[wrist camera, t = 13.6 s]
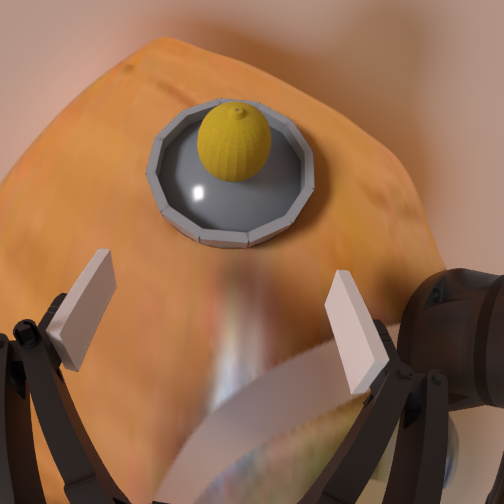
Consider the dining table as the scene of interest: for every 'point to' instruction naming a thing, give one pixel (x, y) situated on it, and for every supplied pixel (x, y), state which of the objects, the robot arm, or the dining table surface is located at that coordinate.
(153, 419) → the dining table surface
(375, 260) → the dining table surface
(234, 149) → the lemon
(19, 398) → the robot arm
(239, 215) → the grey round plate
